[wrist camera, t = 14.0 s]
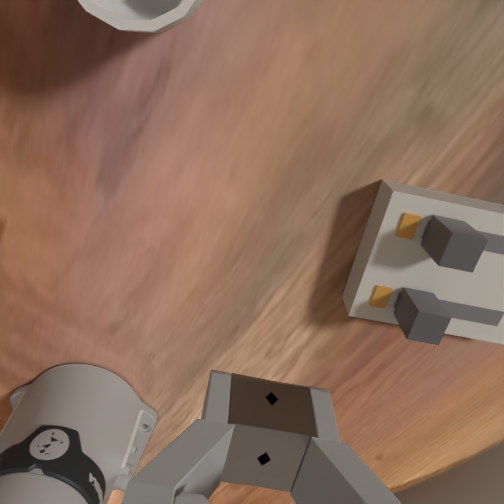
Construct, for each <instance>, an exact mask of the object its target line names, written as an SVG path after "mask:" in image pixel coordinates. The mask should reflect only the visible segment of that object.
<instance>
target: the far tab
mask: <svg viewBox="0 0 504 504" xmlns="http://www.w3.org/2000/svg"><path fill="white" fill-rule="evenodd" d="M393 314H394V316H395V317H396V319H397V321H398V323H399V325H400V327H401V329H402V331H403V333H404V335H405V337H406V338H407V339H408V340H414V341H419V342H425V343H430V344H436V345H439V343H440V341H441V339H442V337H443V335H444V333H445V331H446V329H447V327H448V325H449V322H450V320H451V318H452V317H451V316H450V314H449V313H448V312H447V310H446V309H445V308H444V306H443V305H442V304H441V302H440V301H439V300H438V298H437V297H436V295H435V294H434V293H431V292H426V291H421V290H415V289H410V288H405V287H404V288H403V291H402V293H401V296H400V298H399V301H398V303H397V305H396V308H395V310H394V313H393Z"/></svg>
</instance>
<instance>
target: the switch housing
mask: <svg viewBox="0 0 504 504" xmlns="http://www.w3.org/2000/svg"><path fill="white" fill-rule="evenodd" d="M433 215H437V216H442V217H447V218H452V219H456V220H461V221H465V222H466V223H468V224H469V225H470V226H471V227H473V228H474V229H475V230H476V231H478V232H479V233H480V234H481V235H483V236H484V237H485V238H486V239H488V242H487V244H486V246H485V248H484V250H483V252H482V254H481V256H480V258H479V260H478V263H477V265H476V267H475V269H474V271H473V273H472V272H467V271H462V270H457V269H451V268H446V267H441V266H438V265H437V264H436V263H435V261H434V260H433V259H432V258H431V257H430V256H429V254H428V253H427V252H426V251H425V250H424V249H423V247H422V246H421V243H422V240H423V238H424V235H425V233H426V230H427V228H428V226H429V223H430V221H431V218H432V216H433ZM404 287H405V288H410V289H415V290H421V291H426V292H431V293H434V294H435V295H436V297H437V298H438V300H439V301H440V302H441V304H442V305H443V306H444V308H445V309H446V310H447V312H448V313H449V314H450V316H451V317H452V318H451V320H450V322H449V325H448V327H447V329H446V331H445V334H450V335H456V336H461V337H467V338H472V339H477V340H483V341H488V342H494V343H499V344H504V205H502V204H497V203H492V202H488V201H483V200H478V199H473V198H469V197H464V196H459V195H454V194H450V193H445V192H440V191H435V190H431V189H426V188H421V187H416V186H412V185H407V184H402V183H397V182H393V181H388V180H383V179H382V181H381V184H380V187H379V190H378V193H377V196H376V198H375V201H374V204H373V207H372V210H371V213H370V216H369V219H368V222H367V225H366V228H365V230H364V233H363V236H362V239H361V242H360V245H359V248H358V251H357V254H356V257H355V260H354V263H353V265H352V268H351V271H350V274H349V277H348V280H347V283H346V286H345V289H344V292H343V295H342V298H343V301H344V304H345V307H346V310H347V312H348V315H349V316H352V317H358V318H363V319H369V320H374V321H380V322H385V323H390V324H396V325H399V323H398V321H397V319H396V317H395V316H394V314H393V313H394V310H395V308H396V305H397V303H398V301H399V298H400V296H401V293H402V291H403V288H404Z"/></svg>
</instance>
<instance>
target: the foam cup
mask: <svg viewBox="0 0 504 504" xmlns="http://www.w3.org/2000/svg"><path fill="white" fill-rule="evenodd" d="M78 1H79V3H80V4H81V5H82V7H83V8H84V9H85V11H87V12H89V13H90V14H92V15H94V16H96V17H97V18H99V19H101V20H103V21H104V22H106V23H108V24H110V25H111V26H113V27H115V28H117V29H118V30H123V31H129V32H146V33H163V32H165V31H167V30H169V29H171V28H173V27H175V26H177V25H179V24H181V23H183V22H185V21H187V20H189V19H190V18H191V17H192V15H193V14H194V12H196V10H197V9H198V7H199V6H200V5H201V3H202V2H203V1H204V0H78Z"/></svg>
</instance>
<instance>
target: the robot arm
mask: <svg viewBox="0 0 504 504" xmlns="http://www.w3.org/2000/svg"><path fill="white" fill-rule="evenodd" d="M10 402H11V405H12V409H13V412H12V414H11V415H10V417H9V419H8V421H7V422H6V424H5V426H4V427H3V429H2V431H1V433H0V504H107V503H108V501H109V498H110V495H111V493H112V490H117V489H119V490H122V491H125V494H124V497H123V500H122V503H121V504H209V503H210V502H209V501H208V499H209V498H210V496H211V495H212V494H213V492H214V491H215V490H216V488H217V487H218V486H219V484H220V482H227V483H235V484H244V485H252V486H259V487H264V488H270V489H275V490H281V491H286V492H291V496H292V497H293V499H294V501H295V503H296V504H401V503H400V501H399V500H398V499H397V498H396V497H395V496H394V495H393V494H392V492H391V491H390V490H389V489H388V488H387V487H386V486H385V485H384V484H383V482H382V481H381V480H380V479H379V478H378V477H377V476H376V475H375V474H374V472H373V471H372V470H371V469H370V468H369V467H368V466H367V465H366V464H365V462H364V461H363V460H362V459H361V458H360V457H359V456H358V455H357V454H356V452H355V451H354V450H353V449H352V448H351V447H350V446H349V445H348V444H347V443H346V442H341V440H340V436H339V431H338V427H337V422H336V418H335V413H334V409H333V404H332V400H331V395H330V392H329V390H328V389H324V388H317V387H310V386H308V387H307V386H301V385H295V384H289V383H283V382H277V381H270V380H265V379H260V378H255V377H250V376H245V375H240V374H234V373H232V374H231V373H227V372H222V371H217V370H211V373H210V377H209V382H208V386H207V391H206V396H205V401H204V405H203V410H202V415H201V419H197V420H196V421H195V422H194V423H192V424H191V425H190V426H189V427H188V428H187V429H186V430H185V431H184V432H183V433H181V434H180V435H179V436H178V437H177V438H176V439H175V440H174V441H173V442H172V443H170V444H169V445H168V446H167V447H166V448H165V449H164V450H163V451H162V452H161V453H159V454H158V455H157V456H156V457H155V458H154V459H153V460H152V461H151V462H150V463H148V464H147V465H146V466H145V467H144V468H143V469H142V470H141V471H140V472H138V473H137V474H136V475H135V476H134V477H133V478H132V476H133V474H134V472H135V469H136V467H137V465H138V463H139V460H140V458H141V456H142V454H143V451H144V449H145V447H146V445H147V442H148V440H149V438H150V436H151V433H152V431H153V429H154V426H155V424H156V422H157V419H158V415H157V413H156V412H155V411H154V410H153V409H151V408H150V407H149V406H147V405H146V404H144V403H143V402H142V401H141V400H140V399H139V398H138V396H137V395H136V393H135V392H134V390H133V389H132V388H131V387H130V386H129V385H128V384H127V383H126V382H125V381H124V380H123V379H121V378H120V377H119V376H117V375H115V374H114V373H112V372H110V371H108V370H105V369H103V368H100V367H96V366H92V365H87V364H65V365H60V366H57V367H54V368H51V369H49V370H47V371H46V372H44V373H43V374H41V375H40V376H39V377H38V378H37V379H36V380H35V381H34V382H33V383H31V384H29V385H26V386H23V387H20V388H18V389H16V390H15V391H14V392H13V394H12V395H11V397H10Z"/></svg>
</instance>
